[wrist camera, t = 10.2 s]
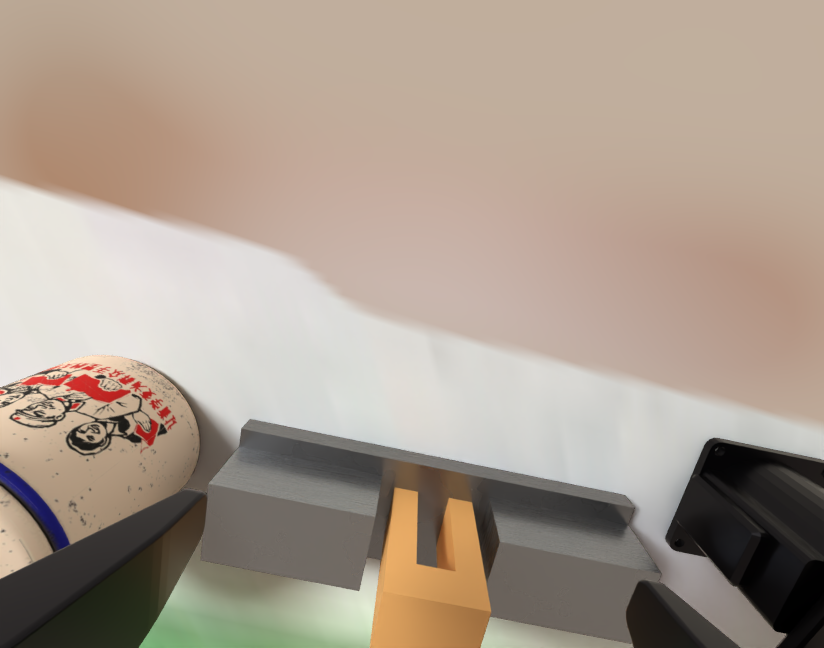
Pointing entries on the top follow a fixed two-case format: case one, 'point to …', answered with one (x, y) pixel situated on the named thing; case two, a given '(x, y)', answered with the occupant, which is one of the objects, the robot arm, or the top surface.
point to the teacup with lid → (87, 452)
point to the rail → (425, 525)
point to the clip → (430, 582)
